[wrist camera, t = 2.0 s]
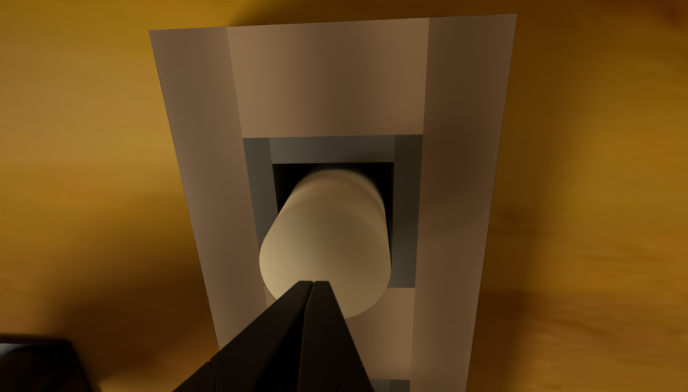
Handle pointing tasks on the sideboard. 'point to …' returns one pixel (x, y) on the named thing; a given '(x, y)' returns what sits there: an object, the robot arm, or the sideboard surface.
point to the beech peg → (331, 237)
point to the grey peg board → (343, 147)
